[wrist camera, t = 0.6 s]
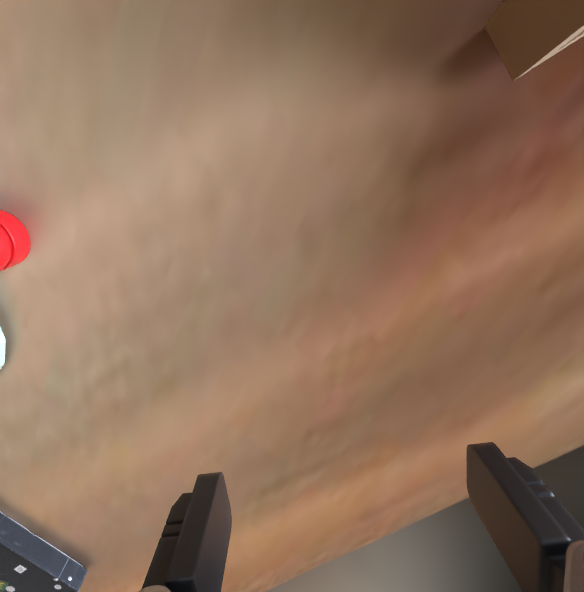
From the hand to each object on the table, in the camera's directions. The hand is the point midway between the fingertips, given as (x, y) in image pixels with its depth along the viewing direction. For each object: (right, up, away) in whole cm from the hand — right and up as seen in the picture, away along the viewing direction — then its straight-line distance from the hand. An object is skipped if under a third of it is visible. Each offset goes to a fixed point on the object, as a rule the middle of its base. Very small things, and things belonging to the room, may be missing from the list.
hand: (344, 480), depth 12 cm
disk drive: (-34, -23, +31) cm, 51 cm away
